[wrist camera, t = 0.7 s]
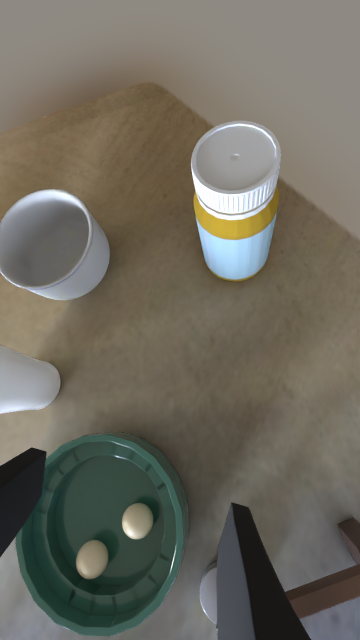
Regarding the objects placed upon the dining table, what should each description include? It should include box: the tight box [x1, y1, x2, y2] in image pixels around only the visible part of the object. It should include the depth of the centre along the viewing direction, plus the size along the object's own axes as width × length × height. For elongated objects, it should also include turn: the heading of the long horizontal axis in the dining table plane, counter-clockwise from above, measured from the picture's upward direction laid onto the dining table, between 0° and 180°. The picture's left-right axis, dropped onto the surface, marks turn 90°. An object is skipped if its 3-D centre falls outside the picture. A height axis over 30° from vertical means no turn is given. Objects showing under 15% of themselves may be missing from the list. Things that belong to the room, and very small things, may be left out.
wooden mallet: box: [200, 518, 360, 632], centre depth 25 cm, size 15×4×6 cm, turn 112°
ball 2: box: [122, 503, 153, 539], centre depth 29 cm, size 3×3×3 cm
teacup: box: [0, 189, 110, 300], centre depth 36 cm, size 14×11×8 cm
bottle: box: [191, 121, 281, 282], centre depth 29 cm, size 7×7×15 cm
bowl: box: [15, 432, 189, 636], centre depth 29 cm, size 15×15×4 cm
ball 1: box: [76, 540, 108, 579], centre depth 29 cm, size 3×3×3 cm
